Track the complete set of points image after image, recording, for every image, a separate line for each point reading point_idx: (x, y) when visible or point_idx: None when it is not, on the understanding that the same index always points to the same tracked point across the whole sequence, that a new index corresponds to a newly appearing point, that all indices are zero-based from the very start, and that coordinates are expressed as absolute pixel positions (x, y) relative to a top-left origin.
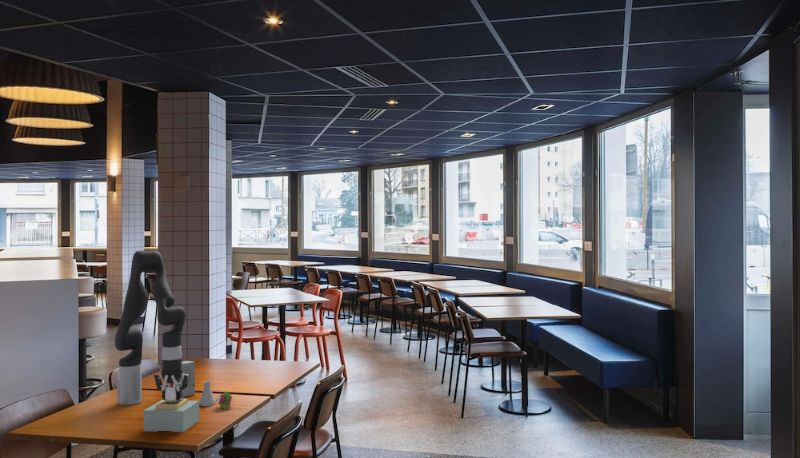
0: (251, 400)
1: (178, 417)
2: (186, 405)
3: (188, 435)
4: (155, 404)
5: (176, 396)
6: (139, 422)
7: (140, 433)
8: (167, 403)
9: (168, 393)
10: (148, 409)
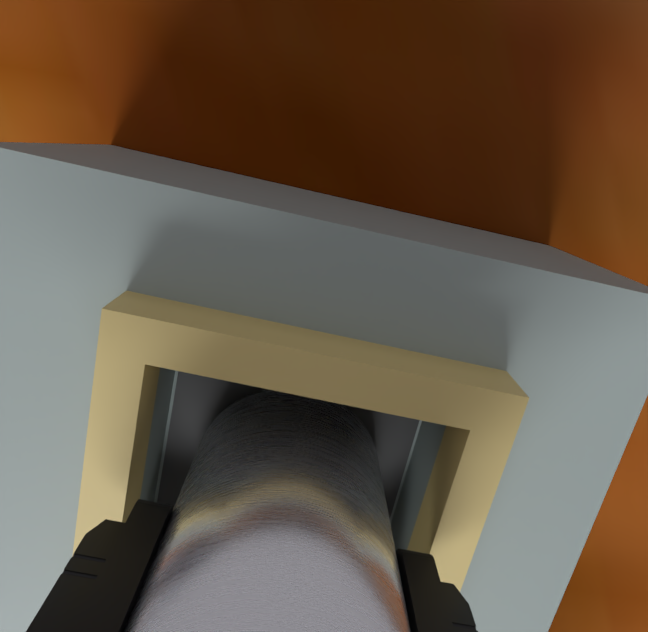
0: None
1: (109, 159)
2: (51, 468)
3: (13, 15)
4: (546, 578)
5: (150, 552)
6: (633, 511)
7: (570, 178)
8: (331, 449)
9: (306, 576)
10: (614, 347)
